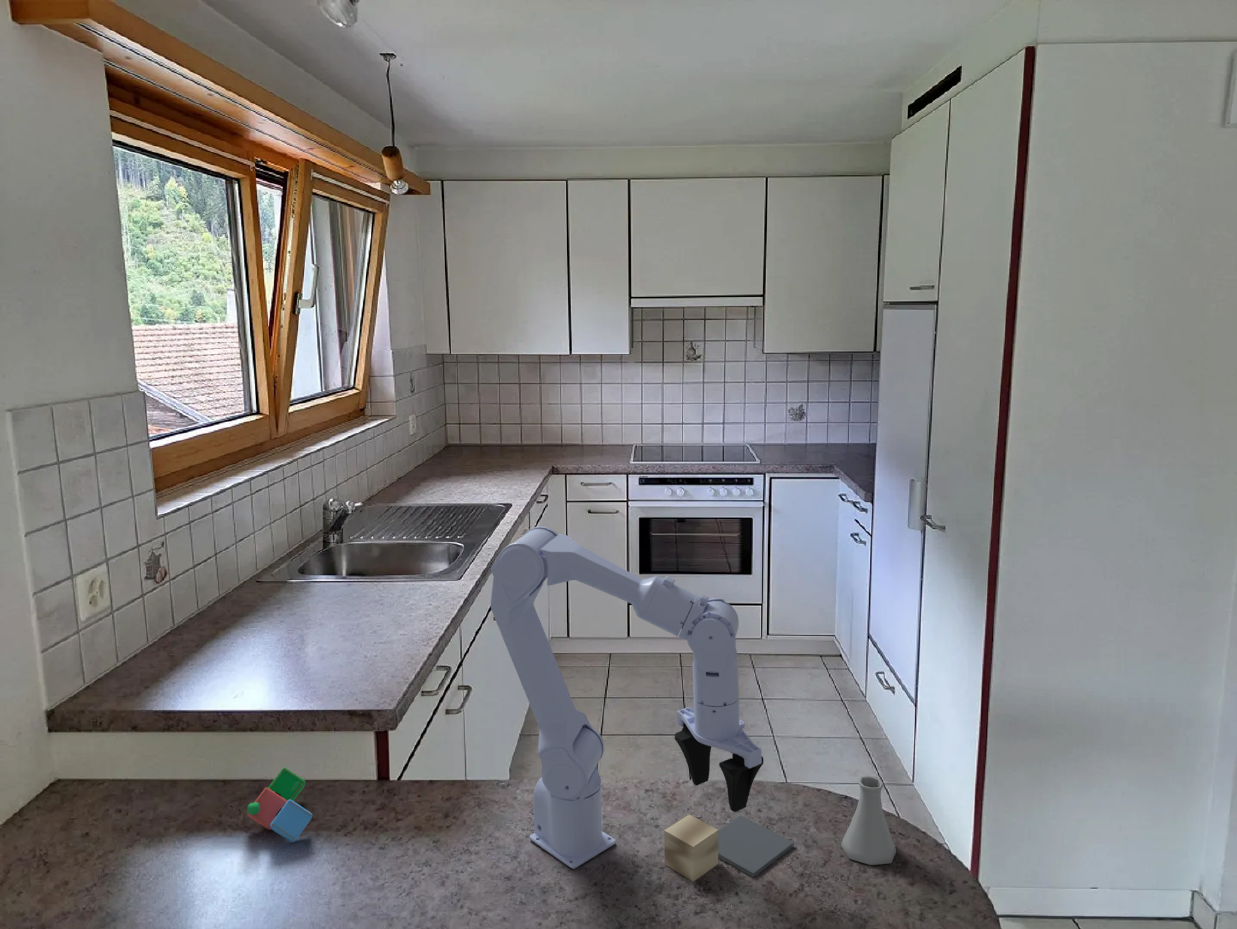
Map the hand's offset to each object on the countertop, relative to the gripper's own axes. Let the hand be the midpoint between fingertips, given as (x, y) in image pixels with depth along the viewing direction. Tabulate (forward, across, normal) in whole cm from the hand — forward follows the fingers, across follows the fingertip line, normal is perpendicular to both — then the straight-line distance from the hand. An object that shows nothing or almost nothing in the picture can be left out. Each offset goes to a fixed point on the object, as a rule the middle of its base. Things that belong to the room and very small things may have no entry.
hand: (719, 795), depth 109 cm
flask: (+11, -9, -18) cm, 23 cm away
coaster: (+10, +1, -5) cm, 11 cm away
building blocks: (+8, +42, +46) cm, 62 cm away
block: (+10, +2, +3) cm, 11 cm away
